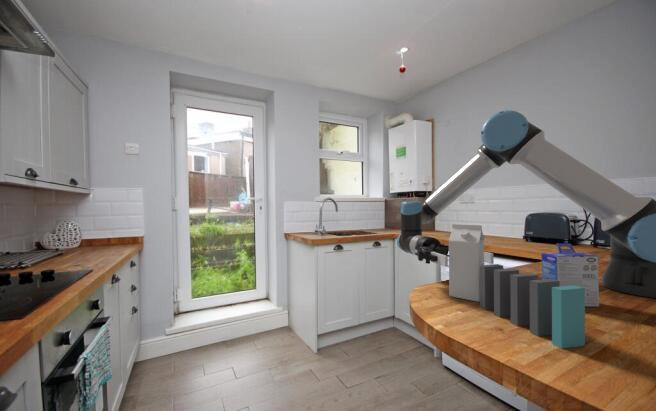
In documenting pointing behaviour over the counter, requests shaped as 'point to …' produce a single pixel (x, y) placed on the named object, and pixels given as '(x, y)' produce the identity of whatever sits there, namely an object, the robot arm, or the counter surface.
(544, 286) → the domino
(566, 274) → the ink cartridge box
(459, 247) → the milk carton
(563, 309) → the domino
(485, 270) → the domino
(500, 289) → the domino
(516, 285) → the domino
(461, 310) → the counter surface
